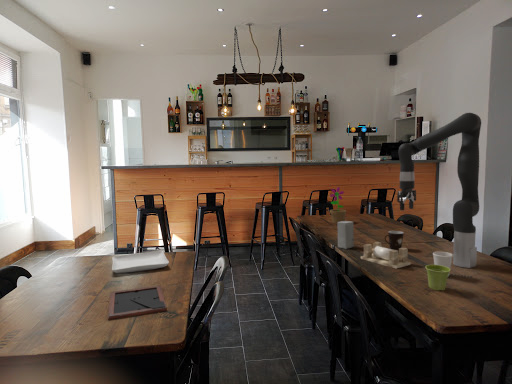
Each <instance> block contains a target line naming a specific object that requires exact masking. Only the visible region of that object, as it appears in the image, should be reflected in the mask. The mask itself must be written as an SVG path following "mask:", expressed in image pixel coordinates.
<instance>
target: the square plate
mask: <svg viewBox="0 0 512 384" xmlns="http://www.w3.org/2000/svg"><path fill="white" fill-rule="evenodd" d="M111 259H112V265H111V271H112V272H113V273H116V274H123V273H125V274H127V273H134V272H141V271H149V270H156V269H160V268H164V267H166V266H168V265H169V263H170V261H169V259H168V258H167V257H166V254H165V252H164V251H163V250H159V251H158V250H157V251H156V250H155V251H146V252H138V253H137V252H136V253H131V254H129V253H128V254H121V255H115V256H112V257H111Z"/></svg>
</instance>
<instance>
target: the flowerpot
mask: <svg viewBox="0 0 512 384" xmlns="http://www.w3.org/2000/svg"><path fill="white" fill-rule="evenodd" d="M340 189H341V188H340V187H339V186H338V187H336V190H335V189H334V188H331V189H330V190H331V192H332V193H331V194H330V195H329V198H330V197H331V198H333V197H334V198H333V201H331V202H330V204H331V205H334V206H335V205H337V208H336V209H330V210H329V214H330V216H331V217H330V218H331V223H332V224H337V222H341V221H346V220H345V219H346V214H347V212H348V211H347V209H341V208H344V205H341V204H339V203H340V200H343V197H342V196H341V195H344V193H345V192H344V191H343V190H342V191H340ZM337 225H338V224H337Z"/></svg>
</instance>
